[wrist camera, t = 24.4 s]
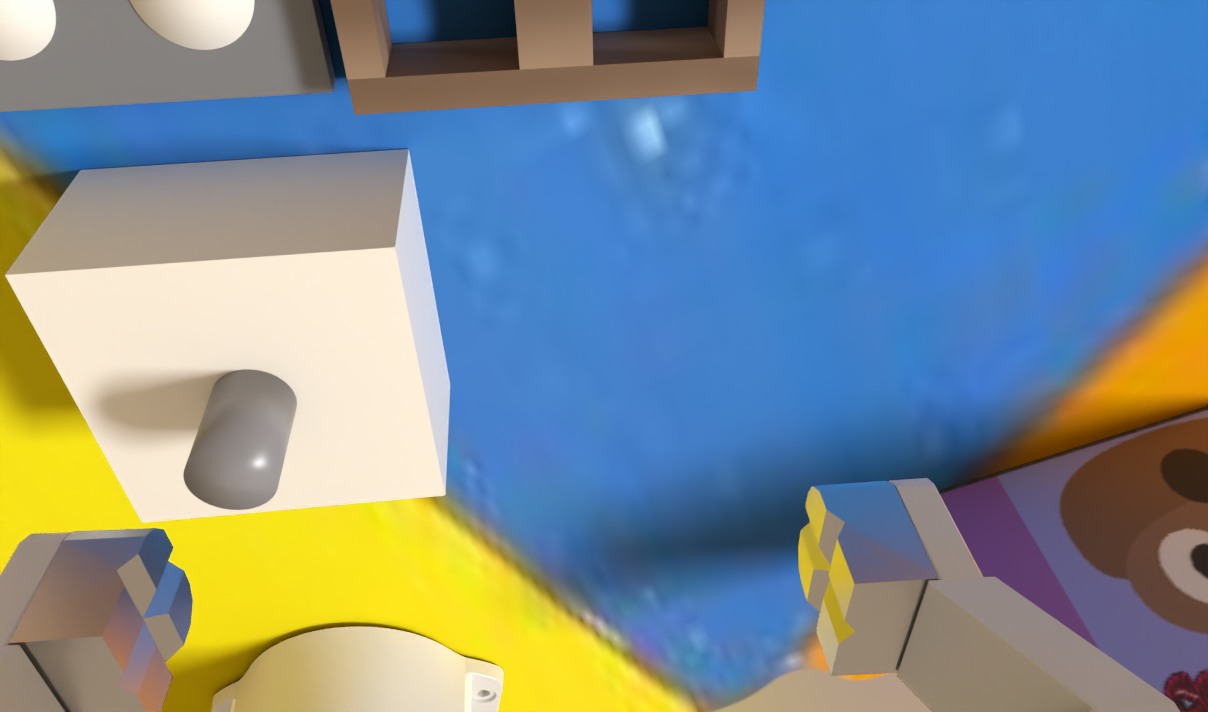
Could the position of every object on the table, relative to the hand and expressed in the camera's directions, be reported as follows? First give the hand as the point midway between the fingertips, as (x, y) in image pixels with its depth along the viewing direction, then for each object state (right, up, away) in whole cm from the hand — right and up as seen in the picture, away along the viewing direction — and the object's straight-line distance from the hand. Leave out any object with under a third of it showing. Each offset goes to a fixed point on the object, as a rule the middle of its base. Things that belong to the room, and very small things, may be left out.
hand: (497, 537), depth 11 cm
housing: (-12, +5, +27) cm, 30 cm away
